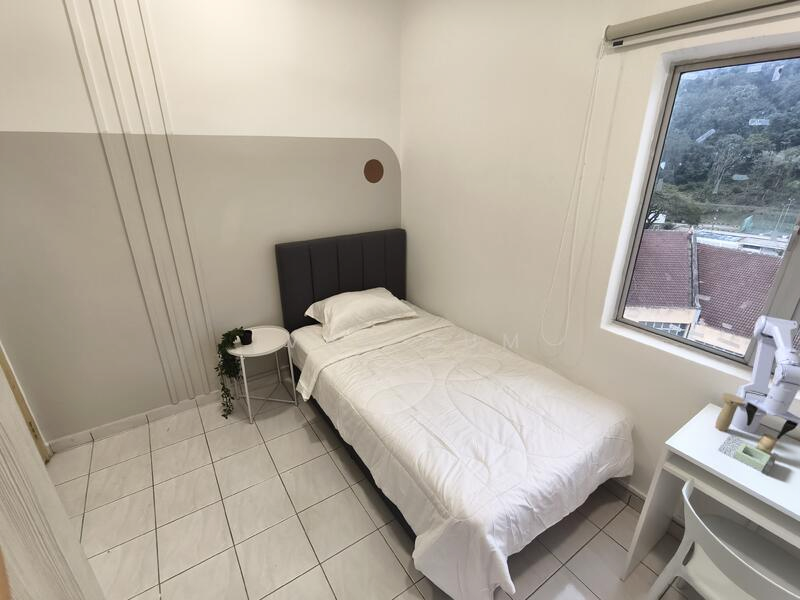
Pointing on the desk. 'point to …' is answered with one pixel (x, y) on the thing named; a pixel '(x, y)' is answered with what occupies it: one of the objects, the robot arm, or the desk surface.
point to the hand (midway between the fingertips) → (763, 430)
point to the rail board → (768, 465)
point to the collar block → (751, 460)
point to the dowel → (766, 443)
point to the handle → (728, 411)
